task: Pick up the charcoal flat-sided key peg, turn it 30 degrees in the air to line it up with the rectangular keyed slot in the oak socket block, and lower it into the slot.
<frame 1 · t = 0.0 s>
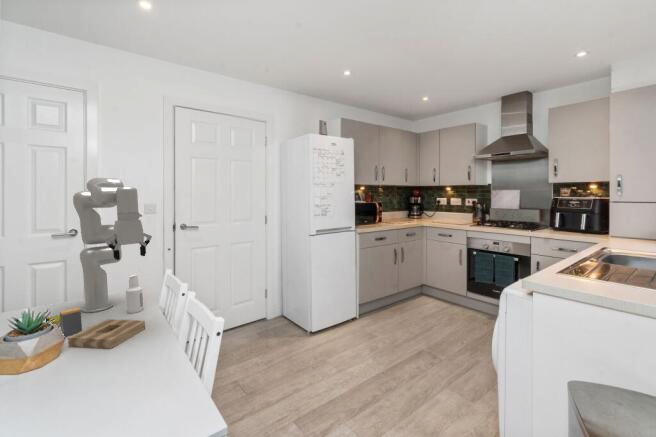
hand: (130, 257, 131), 31 cm above the table, tool pointing down, fingers open, 9 cm apart
socket block: (109, 337, 127), on the table
key peg: (71, 333, 131), on the table
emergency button: (44, 328, 138), on the table
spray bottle: (135, 311, 156), on the table
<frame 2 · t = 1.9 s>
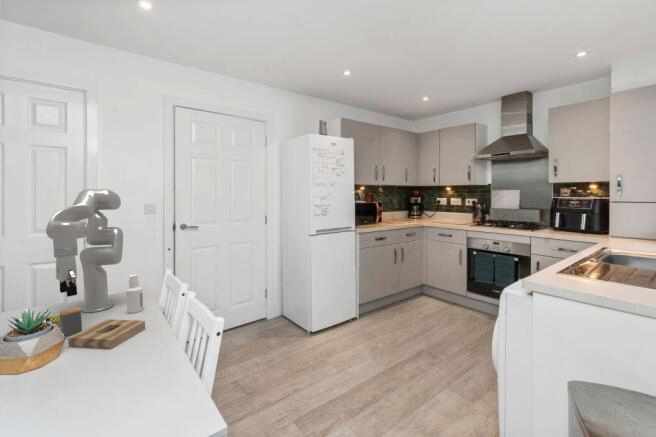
hand: (68, 293, 129), 17 cm above the table, tool pointing down, fingers open, 9 cm apart
nothing on the table moved.
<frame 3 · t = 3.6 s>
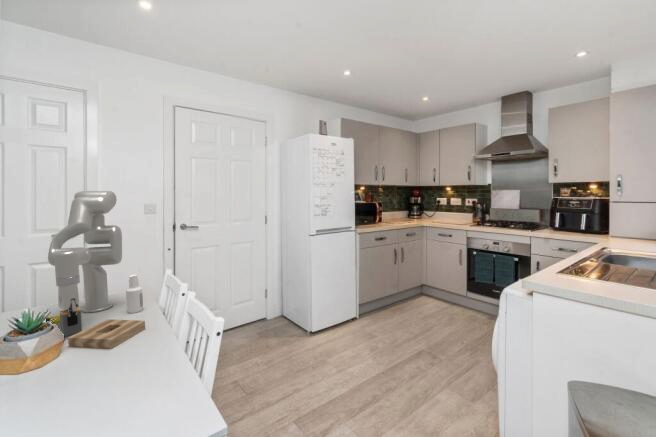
hand: (71, 323, 130), 4 cm above the table, tool pointing down, fingers closed on key peg, 4 cm apart
key peg: (71, 333, 131), on the table, touching gripper
everything else where it was.
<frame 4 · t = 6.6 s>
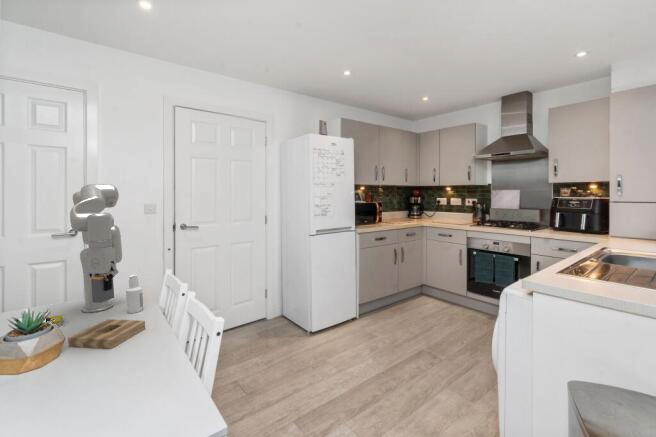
hand: (103, 289, 126), 20 cm above the table, tool pointing down, fingers closed on key peg, 4 cm apart
key peg: (103, 299, 126), point 15 cm above the table, touching gripper
everything else where it was.
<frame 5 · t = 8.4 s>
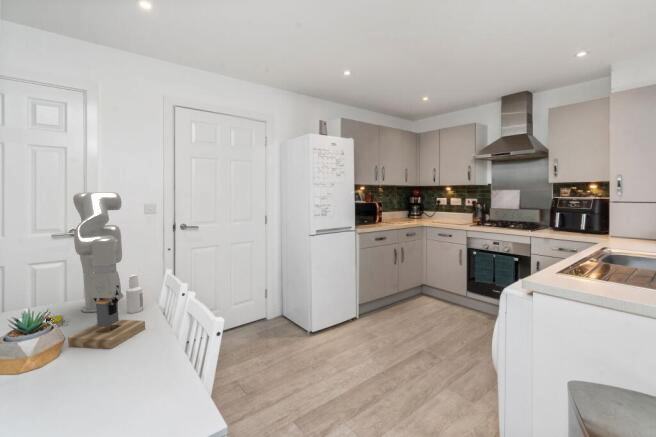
hand: (107, 313, 126), 10 cm above the table, tool pointing down, fingers closed on key peg, 4 cm apart
key peg: (108, 323, 126), point 6 cm above the table, touching gripper
everything else where it was.
when the fingers open (5 cm above the table, at t = 9.7 s): key peg stays where it is, resting in socket block.
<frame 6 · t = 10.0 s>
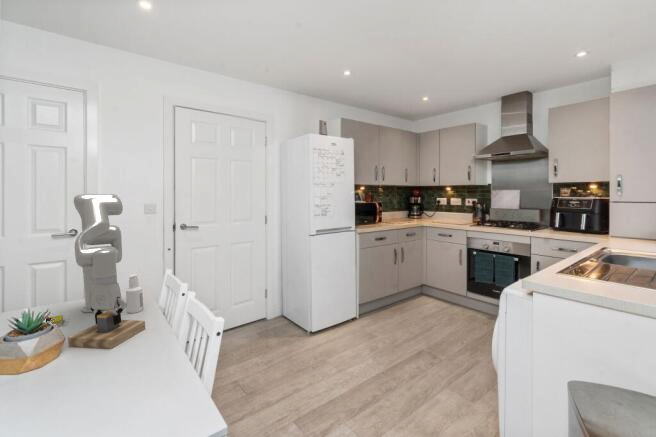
hand: (108, 323, 126), 6 cm above the table, tool pointing down, fingers open, 7 cm apart
key peg: (109, 337, 127), resting in socket block
everything else where it was.
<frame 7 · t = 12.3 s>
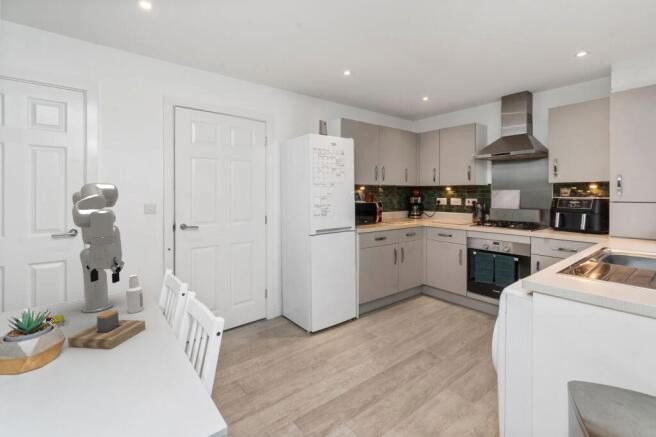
hand: (105, 281, 129), 22 cm above the table, tool pointing down, fingers open, 9 cm apart
nothing on the table moved.
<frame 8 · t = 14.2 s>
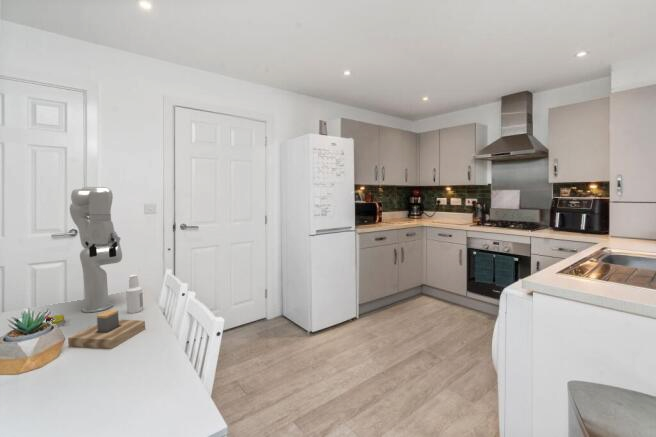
hand: (103, 256, 140), 30 cm above the table, tool pointing down, fingers open, 9 cm apart
at the end: key peg 0.1 cm off-centre on the socket block, point 0.0 cm above the socket block's base; key peg tilted 0°; the gripper is holding nothing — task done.
